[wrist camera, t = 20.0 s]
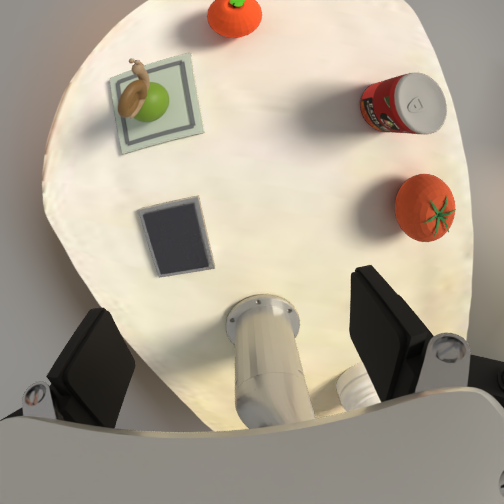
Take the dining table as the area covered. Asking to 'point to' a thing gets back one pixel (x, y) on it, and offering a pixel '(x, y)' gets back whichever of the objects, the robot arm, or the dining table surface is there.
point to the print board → (177, 114)
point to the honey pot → (356, 388)
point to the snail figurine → (143, 97)
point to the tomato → (425, 207)
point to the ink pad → (177, 237)
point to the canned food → (405, 105)
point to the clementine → (234, 17)
